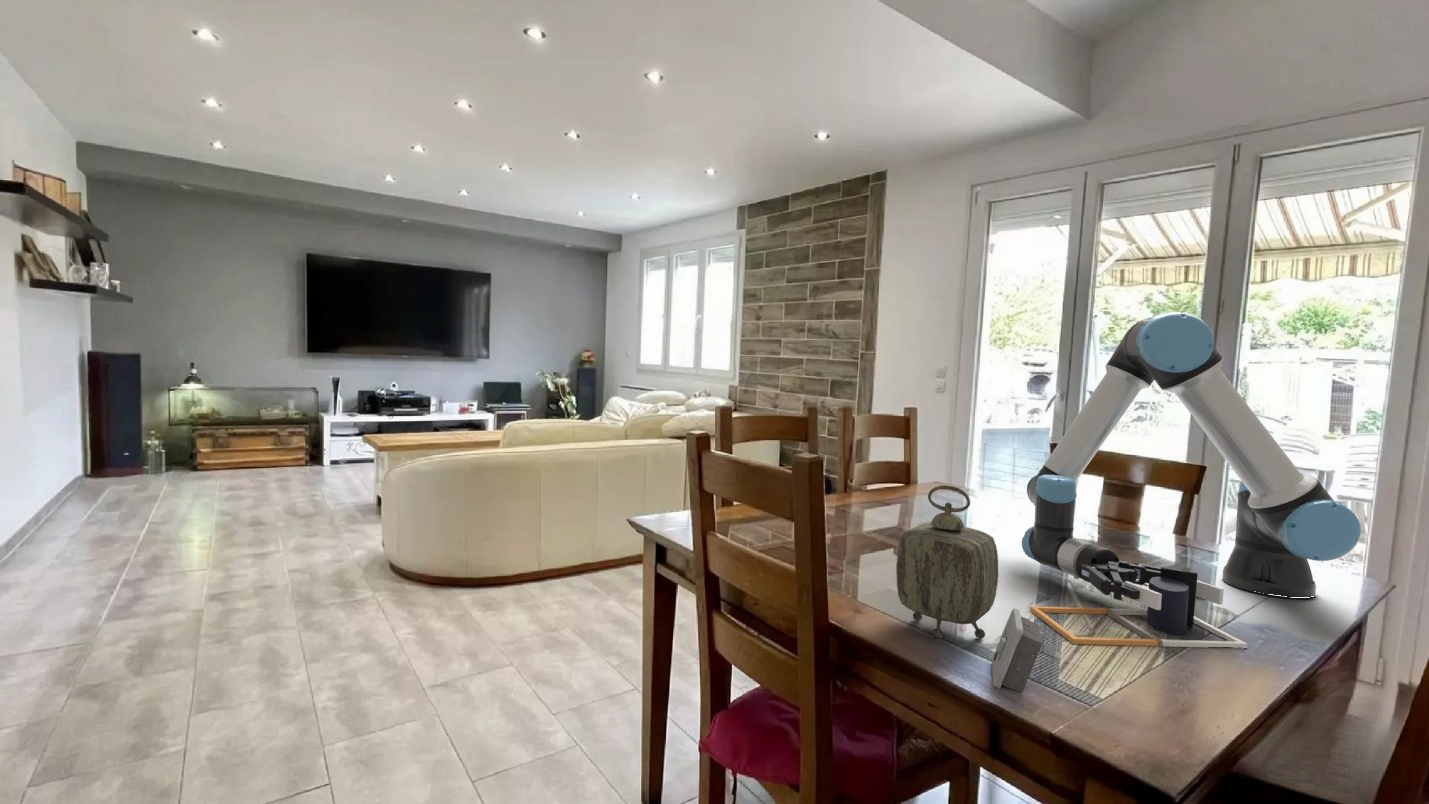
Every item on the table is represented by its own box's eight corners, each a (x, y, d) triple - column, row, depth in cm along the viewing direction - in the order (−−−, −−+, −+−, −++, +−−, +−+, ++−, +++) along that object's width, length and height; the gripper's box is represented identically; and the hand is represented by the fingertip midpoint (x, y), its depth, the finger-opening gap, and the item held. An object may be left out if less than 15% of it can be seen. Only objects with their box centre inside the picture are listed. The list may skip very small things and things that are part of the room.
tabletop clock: (995, 639, 107) (1002, 489, 106) (976, 656, 100) (984, 496, 99) (911, 615, 117) (917, 477, 115) (888, 630, 110) (895, 483, 108)
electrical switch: (991, 662, 99) (1001, 603, 98) (1028, 672, 97) (1038, 612, 96) (992, 690, 90) (1002, 626, 89) (1033, 702, 88) (1044, 636, 87)
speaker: (1156, 615, 119) (1161, 562, 118) (1193, 628, 115) (1199, 572, 113) (1139, 629, 115) (1144, 573, 113) (1177, 642, 110) (1183, 584, 109)
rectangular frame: (1182, 614, 121) (1182, 610, 121) (1246, 648, 106) (1247, 643, 106) (1030, 610, 121) (1030, 606, 121) (1073, 643, 106) (1073, 639, 106)
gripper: (1137, 577, 134) (1244, 615, 114) (1036, 584, 128) (1130, 626, 107) (1139, 541, 134) (1247, 573, 113) (1038, 546, 127) (1133, 581, 107)
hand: (1191, 599), depth 110 cm, fingers open, 13 cm apart
